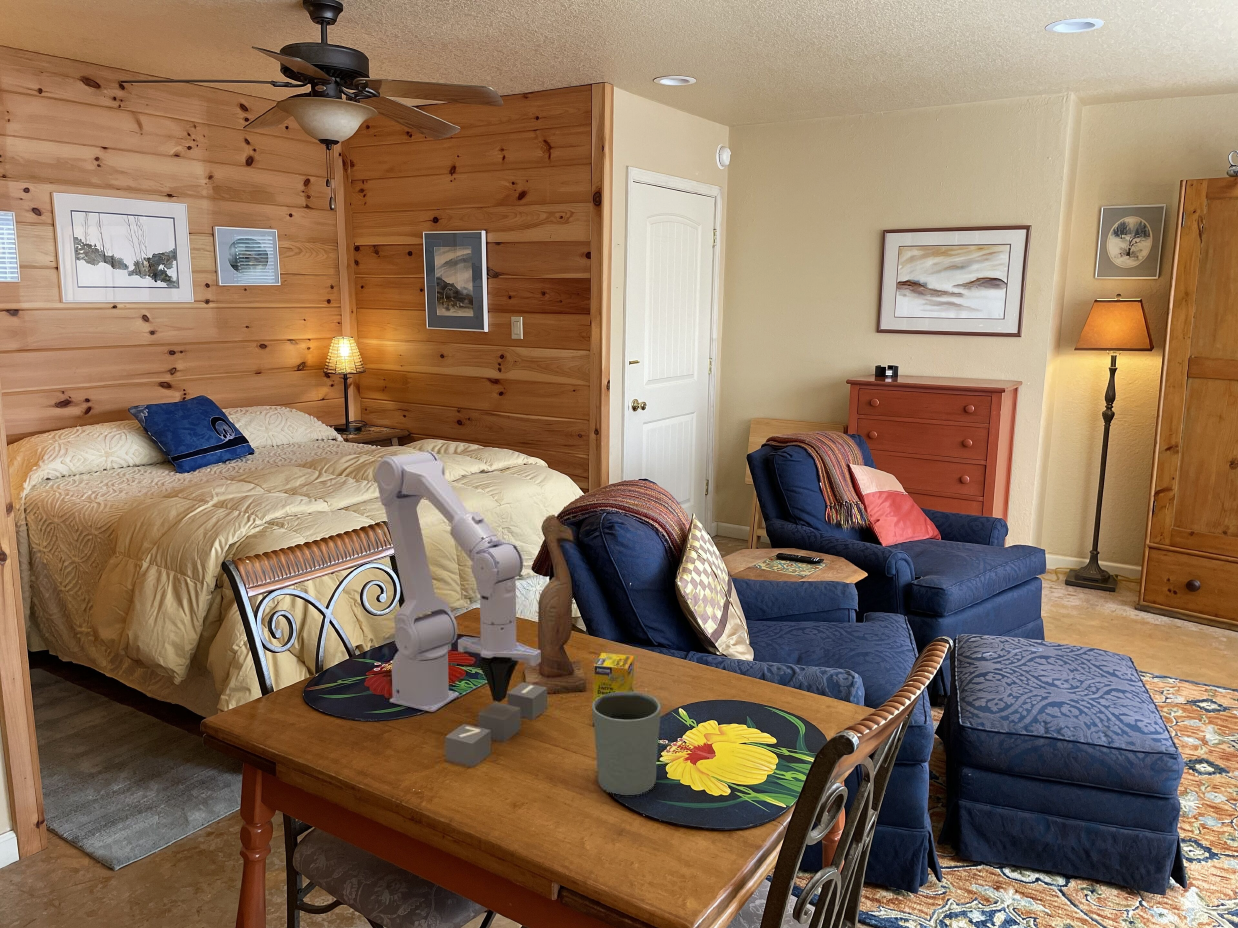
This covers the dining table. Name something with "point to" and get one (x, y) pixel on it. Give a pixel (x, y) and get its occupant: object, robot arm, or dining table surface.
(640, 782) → the grey cup
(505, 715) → the plain block
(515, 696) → the block one
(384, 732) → the dining table surface
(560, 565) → the bird sculpture
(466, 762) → the block seven
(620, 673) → the supplement box
